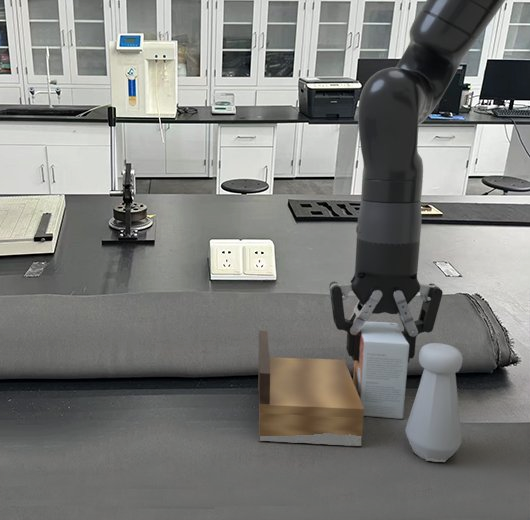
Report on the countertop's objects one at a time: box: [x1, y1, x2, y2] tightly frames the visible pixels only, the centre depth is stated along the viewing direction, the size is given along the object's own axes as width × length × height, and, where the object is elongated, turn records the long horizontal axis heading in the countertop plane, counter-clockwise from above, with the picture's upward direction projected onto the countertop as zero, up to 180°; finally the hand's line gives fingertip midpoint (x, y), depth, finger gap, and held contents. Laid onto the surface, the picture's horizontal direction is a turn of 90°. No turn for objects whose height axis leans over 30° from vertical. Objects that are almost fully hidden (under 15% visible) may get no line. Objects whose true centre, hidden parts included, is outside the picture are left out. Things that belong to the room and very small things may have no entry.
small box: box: [352, 320, 409, 420], centre depth 71 cm, size 8×6×10 cm
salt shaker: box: [405, 342, 464, 460], centre depth 60 cm, size 6×6×13 cm
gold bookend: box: [257, 330, 365, 437], centre depth 69 cm, size 12×14×9 cm
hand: (379, 358), depth 71 cm, fingers closed on small box, 5 cm apart
